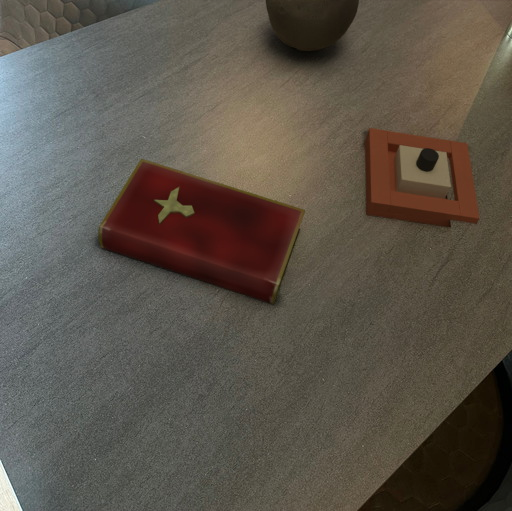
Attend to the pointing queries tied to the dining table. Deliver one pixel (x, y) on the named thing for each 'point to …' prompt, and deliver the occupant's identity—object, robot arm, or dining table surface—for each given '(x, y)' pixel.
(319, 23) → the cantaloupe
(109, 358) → the dining table surface
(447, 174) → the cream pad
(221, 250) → the hardcover book
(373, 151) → the base pad
